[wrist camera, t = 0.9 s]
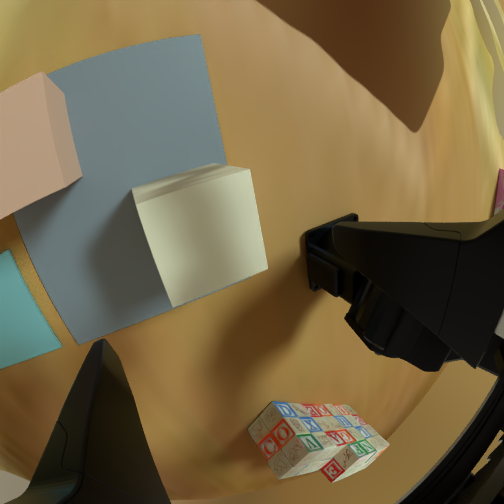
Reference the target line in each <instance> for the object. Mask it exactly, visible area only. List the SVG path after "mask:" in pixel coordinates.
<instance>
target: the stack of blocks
mask: <svg viewBox="0 0 504 504" xmlns="http://www.w3.org/2000/svg"><path fill="white" fill-rule="evenodd" d="M247 430H248V432H249V433H250V435H251V437H252V438H253V440H254V441H255V443H256V444H257V447H258V448H259V450H260V451H261V453H262V454H263V456H264V457H265V459H266V460H267V461H268V465H269V466H270V468H271V469H272V471H273V472H274V473H275V475H276V476H277V478H278V479H283V478H287V477H292V476H297V475H301V474H305V473H309V472H313V471H316V470H319V469H320V470H321V471H322V473H323V474H324V475H325V476H326V477H327V478H328V480H329V481H330V482H331V483H332V482H335V481H337V480H340V479H342V478H345V477H347V476H349V475H351V474H353V473H355V472H357V471H360V470H362V469H364V468H366V467H367V466H368V465H369V464H370V463H372V462H373V461H374V460H375V459H376V458H377V457H378V456H379V455H380V454H381V453H382V452H383V451H384V450H385V449H386V448H387V447H388V446H389V445H390V444H389V443H388V442H387V441H386V440H384V439H383V438H382V437H381V436H380V435H379V434H378V433H377V432H376V431H375V430H374V429H373V428H372V427H371V426H370V425H368V424H367V423H366V422H365V421H364V420H363V419H362V418H361V417H359V416H358V414H357V413H356V412H355V411H354V410H353V409H352V408H351V407H350V406H348V405H338V404H322V405H321V404H320V405H319V404H312V405H311V404H300V403H286V402H275V401H272V402H271V403H270V404H269V406H268V407H267V408H266V409H265V410H264V411H263V412H262V413H261V415H260V416H259V417H258V418H257V419H256V420H255V421H254V422H253V423H252V424H251V425H250V427H249V428H248V429H247Z"/></svg>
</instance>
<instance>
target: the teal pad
mask: <svg viewBox="0 0 504 504" xmlns="http://www.w3.org/2000/svg"><path fill="white" fill-rule="evenodd" d="M61 347H62V344H61V343H60V341H59V340H58V338H57V337H56V335H55V334H54V332H53V331H52V329H51V327H50V326H49V324H48V323H47V321H46V319H45V318H44V316H43V314H42V313H41V311H40V309H39V307H38V306H37V304H36V302H35V300H34V299H33V297H32V295H31V293H30V291H29V289H28V287H27V285H26V283H25V281H24V279H23V277H22V275H21V273H20V271H19V269H18V267H17V265H16V263H15V260H14V258H13V256H12V254H11V251H10V249H8V250H6V251H4V252H3V253H1V254H0V369H2V368H5V367H8V366H11V365H14V364H16V363H19V362H22V361H25V360H28V359H31V358H33V357H36V356H39V355H42V354H45V353H47V352H50V351H53V350H56V349H58V348H61Z"/></svg>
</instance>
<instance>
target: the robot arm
mask: <svg viewBox="0 0 504 504" xmlns="http://www.w3.org/2000/svg"><path fill="white" fill-rule="evenodd" d="M353 218H354V219H353ZM311 234H312V236H311V237H310V235H311ZM305 242H306V251H307V256H306V258H307V269H308V278H309V283H310V289H311V290H313V291H317V290H319V289H321V288H323V289H324V290H326V291H327V292H328V293H330V294H331V295H333V296H334V297H338V296H340V297H341V298H343V299H344V300H345V301H347V302H348V303H350V304H351V307H350V309H349V311H348V313H346V316H345V318H344V319H345V320H346V322H347V323H348V324H349V326H350V327H351V328H352V329H353V330H354V332H355V333H356V334H357V335H358V336H359V337H360V339H361V340H362V341H363V342H364V343H365V345H366V346H367V347H368V348H369V349H370V350H371V351H374V352H375V354H377V355H383V356H386V357H390V358H400V359H403V360H405V361H407V362H409V363H411V364H412V365H414V366H416V367H418V368H419V369H421V370H423V371H426V372H436V371H439V370H440V368H441V367H442V365H443V363H446V362H452V361H457V360H465V361H466V362H467V363H468V364H469V365H470V366H471V367H473V368H474V369H476V367H479V368H481V369H483V370H485V371H488V372H490V373H492V374H494V375H496V376H498V378H497V380H496V382H495V383H494V385H493V387H492V388H491V390H490V392H489V393H488V395H487V397H486V398H485V400H484V402H483V403H482V404H481V406H480V408H479V409H478V411H477V412H476V414H475V415H474V417H473V418H472V419H471V421H470V422H469V423H468V425H467V426H466V427H465V429H464V430H463V432H462V433H461V434H460V436H459V437H458V438H457V439H456V440H455V442H454V443H453V444H452V445H451V447H450V448H449V449H448V450H447V451H446V453H445V454H444V455H443V456H442V457H441V458H440V459H439V461H438V462H437V463H436V464H435V465H434V466H433V467H432V468H431V469H430V470H429V472H427V473H426V475H425V476H424V477H423V478H422V479H421V480H420V481H419V482H417V484H415V485H414V486H413V487H412V488H411V489H410V490H409V491H408V492H407V493H406V494H405V495H404V496H403V497H401V498H400V499H399V500H398V501H397V502H396V503H395V504H504V434H503V435H502V436H501V438H500V439H499V442H500V443H501V444H500V445H499V446H498V447H497V448H496V449H495V450H494V451H493V452H492V453H491V454H490V455H489V456H488V458H487V460H488V461H489V462H488V463H487V464H486V465H485V466H484V467H483V468H481V469H480V470H479V471H478V472H477V473H476V474H475V475H474V474H473V473H471V471H472V470H473V468H474V467H475V465H476V464H477V463H478V462H479V460H480V459H481V457H482V456H483V455H484V453H485V452H486V450H487V449H488V447H489V446H490V444H491V443H492V441H493V440H494V438H495V437H496V435H497V433H498V432H499V430H502V431H503V432H504V208H503V209H502V210H501V211H499V212H498V213H497V214H495V215H494V216H493V217H491V218H490V219H488V220H486V221H482V222H459V223H429V222H424V223H422V222H358V215H357V214H355V213H351V214H349V215H346V216H344V217H341V218H338V219H336V220H333V221H331V222H328V223H326V224H323V225H321V226H318V227H315V228H313V229H310V230H308V231H307V232H306V234H305ZM315 285H316V286H315ZM5 504H171V502H170V500H169V498H168V495H167V493H166V491H165V488H164V486H163V484H162V481H161V479H160V476H159V474H158V471H157V468H156V466H155V463H154V460H153V458H152V455H151V452H150V449H149V446H148V443H147V440H146V437H145V434H144V431H143V428H142V424H141V421H140V418H139V414H138V411H137V407H136V403H135V400H134V397H133V394H132V391H131V389H130V386H129V383H128V381H127V378H126V375H125V372H124V369H123V367H122V364H121V361H120V359H119V357H118V355H117V354H116V352H115V351H114V350H113V348H112V347H111V346H110V344H109V343H108V342H107V340H106V339H100V340H98V341H96V342H94V343H93V345H92V347H91V349H90V351H89V353H88V355H87V357H86V359H85V361H84V363H83V365H82V367H81V369H80V371H79V373H78V375H77V377H76V379H75V381H74V383H73V385H72V388H71V390H70V392H69V394H68V396H67V398H66V401H65V403H64V405H63V408H62V410H61V412H60V415H59V417H58V421H57V422H56V424H55V427H54V429H53V432H52V434H51V436H50V439H49V441H48V444H47V446H46V448H45V450H44V452H43V455H42V457H41V459H40V461H39V463H38V466H37V468H36V470H35V473H34V475H33V477H32V480H31V482H30V484H29V486H28V488H27V489H26V491H25V492H24V493H23V494H22V495H21V496H19V497H18V498H16V499H13V500H11V501H9V502H7V503H5Z"/></svg>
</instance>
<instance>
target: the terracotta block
mask: <svg viewBox="0 0 504 504" xmlns="http://www.w3.org/2000/svg"><path fill="white" fill-rule="evenodd" d="M82 176H83V175H82V172H81V168H80V165H79V161H78V157H77V153H76V149H75V145H74V141H73V136H72V132H71V127H70V122H69V117H68V112H67V107H66V101H65V95H64V93H63V92H62V91H61V90H60V89H59V88H58V87H57V86H56V85H55V84H54V83H53V82H52V81H51V80H50V79H49V78H48V77H47V75H46V74H45V73H44V72H43V71H41V72H39V73H37V74H35V75H33V76H31V77H29V78H27V79H25V80H23V81H21V82H19V83H17V84H15V85H13V86H12V87H10V88H8V89H6V90H4V91H3V92H1V93H0V220H1V219H2V218H4V217H6V216H8V215H10V214H11V213H13V212H15V211H17V210H19V209H21V208H23V207H25V206H27V205H29V204H31V203H33V202H35V201H37V200H39V199H41V198H43V197H45V196H47V195H49V194H51V193H54V192H56V191H58V190H60V189H63V188H65V187H67V186H68V185H70V184H71V183H73V182H74V181H76V180H77V179H79V178H80V177H82Z"/></svg>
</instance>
